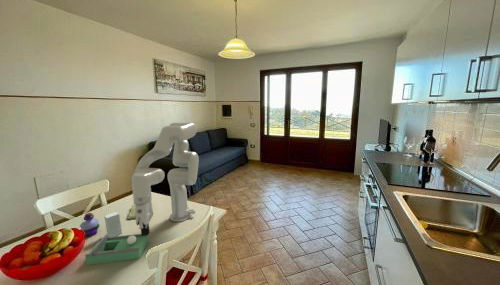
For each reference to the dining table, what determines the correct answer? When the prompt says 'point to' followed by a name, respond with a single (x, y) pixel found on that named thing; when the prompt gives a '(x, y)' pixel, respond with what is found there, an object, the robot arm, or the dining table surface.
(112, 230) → the skincare box
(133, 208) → the washcloth
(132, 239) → the ball
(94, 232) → the purple rounded piece
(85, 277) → the dining table surface
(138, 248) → the green
